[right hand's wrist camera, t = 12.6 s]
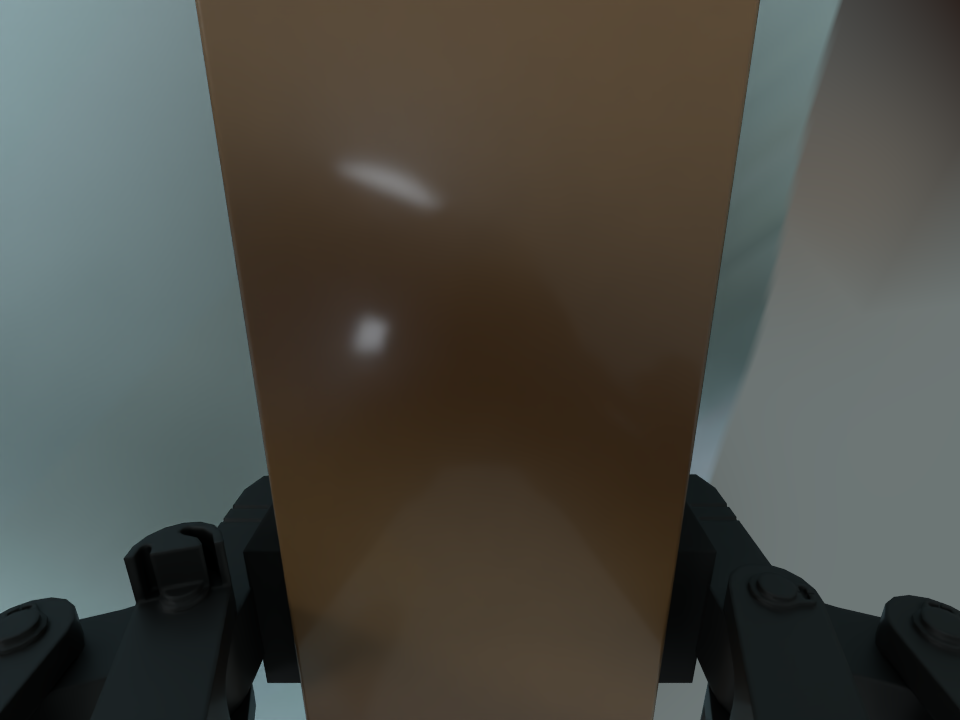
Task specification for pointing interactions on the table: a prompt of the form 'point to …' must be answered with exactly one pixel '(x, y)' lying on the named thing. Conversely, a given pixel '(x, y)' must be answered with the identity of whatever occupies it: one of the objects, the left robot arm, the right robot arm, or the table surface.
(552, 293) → the beam
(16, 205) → the table surface
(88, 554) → the table surface
